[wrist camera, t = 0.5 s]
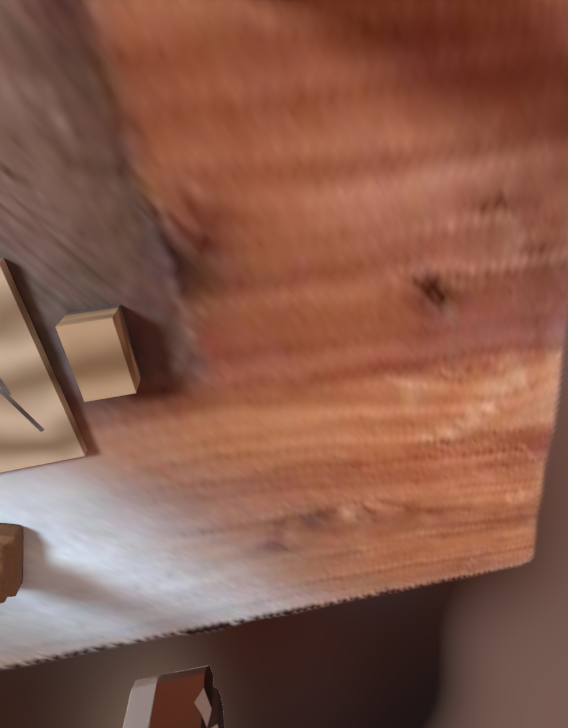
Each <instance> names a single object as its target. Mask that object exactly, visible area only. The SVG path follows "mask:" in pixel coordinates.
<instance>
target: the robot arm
mask: <svg viewBox="0 0 568 728" xmlns="http://www.w3.org/2000/svg"><path fill="white" fill-rule="evenodd" d="M123 728H224V715H223V706H222V701H221V696H220V693H219V690H218V689H217V688H215V687H213V673H212V671H211V668H210V666H209V665H208V666H203V667H198V668H193V669H189V670H184V671H178V672H173V673H169V674H164V675H158V676H153V677H149V678H144V679H140V680H136V681H135V684H134V686H133V688H132V690H131V693H130V698H129V702H128V707H127V711H126V716H125V720H124V725H123Z"/></svg>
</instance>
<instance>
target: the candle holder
mask: <svg viewBox="0 0 568 728" xmlns="http://www.w3.org/2000/svg"><path fill="white" fill-rule="evenodd" d="M22 578H23V528H22V526H20V525H15V524H5V523H0V603H3V602H5V600H6V598H7V597H12V596H16V594H17V592H18V590H19V588H20V586H21V584H22Z"/></svg>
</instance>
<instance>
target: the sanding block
mask: <svg viewBox="0 0 568 728" xmlns="http://www.w3.org/2000/svg"><path fill="white" fill-rule="evenodd" d="M56 329H57V332H58V335H59V337H60V340H61V342H62V345H63V347H64V350H65V353H66V355H67V358H68V360H69V363H70V365H71V368H72V371H73V373H74V376H75V378H76V381H77V383H78V386H79V389H80V391H81V394H82V396H83V399H84V401H85V402H86V401H92V400H98V399H104V398H110V397H116V396H122V395H128V394H134V393H136V392H137V389H138V386H139V383H140V379H141V376H142V374H141V371H140V367H139V364H138V361H137V358H136V354H135V351H134V348H133V344H132V341H131V338H130V335H129V331H128V328H127V325H126V321H125V318H124V315H123V312H122V308H121V305H114V306H107V307H101V308H94V309H87V310H81V311H74V312H68V313H67V314H66V316H65V317H64V318H63V319H62V320H61V321H60V322H59V323H58V324H57V326H56Z"/></svg>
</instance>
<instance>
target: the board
mask: <svg viewBox="0 0 568 728" xmlns="http://www.w3.org/2000/svg"><path fill="white" fill-rule="evenodd" d="M87 450H88V449H87V447H86V444H85V442H84V440H83V438H82V435H81V433H80V431H79V428H78V426H77V424H76V422H75V419H74V417H73V415H72V412H71V410H70V408H69V406H68V403H67V401H66V399H65V397H64V394H63V392H62V390H61V387H60V385H59V383H58V381H57V378H56V376H55V374H54V372H53V369H52V367H51V365H50V362H49V360H48V358H47V356H46V353H45V351H44V349H43V346H42V344H41V342H40V340H39V337H38V335H37V333H36V331H35V328H34V326H33V324H32V321H31V319H30V317H29V315H28V312H27V310H26V308H25V305H24V303H23V301H22V299H21V296H20V294H19V292H18V290H17V287H16V285H15V283H14V280H13V278H12V276H11V274H10V271H9V269H8V267H7V264H6V262H5V260H4V258H1V259H0V472H5V471H10V470H16V469H21V468H26V467H31V466H36V465H41V464H46V463H51V462H57V461H62V460H67V459H72V458H77V457H82V456H85V454H86V452H87Z"/></svg>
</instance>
